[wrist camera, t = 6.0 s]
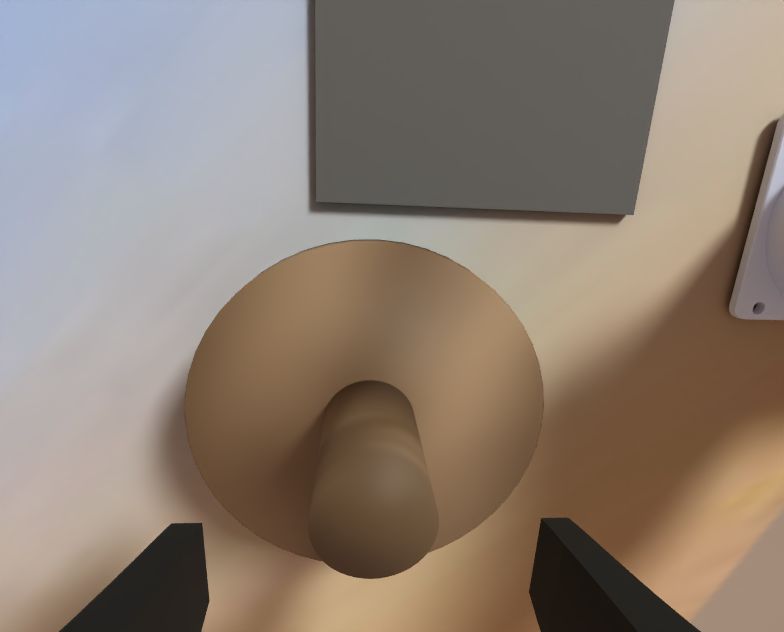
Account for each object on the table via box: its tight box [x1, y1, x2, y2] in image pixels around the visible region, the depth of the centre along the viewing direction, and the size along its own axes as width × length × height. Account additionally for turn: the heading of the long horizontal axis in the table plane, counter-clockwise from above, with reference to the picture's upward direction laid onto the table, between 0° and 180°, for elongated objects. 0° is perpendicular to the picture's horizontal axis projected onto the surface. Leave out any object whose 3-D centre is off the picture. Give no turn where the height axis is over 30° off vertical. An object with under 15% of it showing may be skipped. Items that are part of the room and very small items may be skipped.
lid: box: [185, 240, 544, 579], centre depth 12 cm, size 11×11×5 cm
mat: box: [315, 0, 674, 215], centre depth 15 cm, size 12×12×1 cm
